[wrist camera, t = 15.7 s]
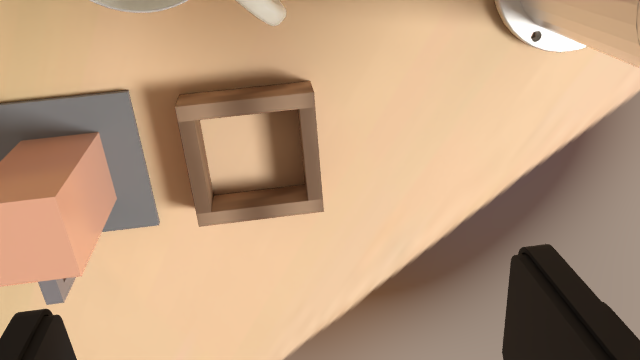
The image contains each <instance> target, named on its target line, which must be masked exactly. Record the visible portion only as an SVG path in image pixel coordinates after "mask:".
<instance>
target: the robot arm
mask: <svg viewBox="0 0 640 360" xmlns="http://www.w3.org/2000/svg"><path fill="white" fill-rule="evenodd" d="M494 1H495V4H496V8H497V11H498V13H499V15H500V17H501V19H502V21H503V23H504V24H505V25H506V27H507V28H508V29H509V30H510V31H511V33H512V34H513V35H515V36H516V37H517V38H519V39H520V40H521V41H523V42H524V43H526V44H528V45H530V46H532V47H535V48H538V49H541V50H544V51H551V52H568V51H575V50H578V49H582V48H585V47H590V48H592V49H594V50H597V51H599V52H602V53H604V54H607V55H609V56H611V57H614V58H616V59H619V60H621V61H624V62H626V63H628V64H631V65H633V66H636V67H638V68H640V0H494ZM533 32H534V35H533V36H532V37H531V35H532V33H533ZM502 350H503V351H502V353H503V359H504V360H640V340H639V339H638V338H637V337H636V336H635V335H634V333H633V332H632V331H631V330H630V329H629V328H628V327H627V326H626V325H625V324H624V322H623V321H622V320H621V319H620V318H619V317H618V316H617V315H616V314H615V312H614V311H613V310H612V309H611V308H610V307H609V306H608V305H607V304H605V303H604V302H601V301H600V299H599V298H598V297H597V296H596V295H595V294H594V293H593V292H592V291H591V289H590V288H589V287H588V286H587V285H586V284H585V283H584V281H583V280H582V279H581V278H580V277H579V276H578V275H577V274H576V273H575V271H574V270H573V269H572V268H571V267H570V266H569V265H568V264H567V262H566V261H565V260H564V259H563V258H562V257H561V256H560V255H559V253H558V252H557V251H556V250H555V249H554V248H553V247H552V246H551V245H549V244H545V245H537V246H529V247H522V248H521V249H520V250H519V254H518V255H514V256H513V257H512V259H511V266H510V276H509V287H508V298H507V307H506V319H505V328H504V339H503V349H502ZM0 360H77V359H76V356H75V353H74V351H73V348H72V345H71V342H70V339H69V337H68V334H67V331H66V328H65V326H64V323H63V320H62V318H61V317H60V316H59V315H53V314H52V312H51V311H50V310H49V309H41V310H33V311H26V312H18V313H16V314H15V315H14V316H13V317H12V319H11V321H10V323H9V324H8V326H7V328H6V330H5V331H4V333H3V335H2V336H1V338H0Z"/></svg>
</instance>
